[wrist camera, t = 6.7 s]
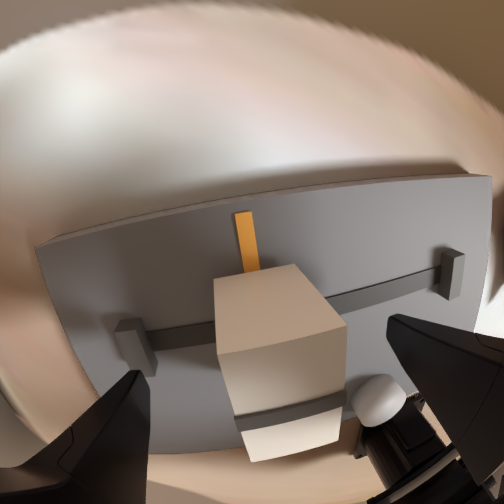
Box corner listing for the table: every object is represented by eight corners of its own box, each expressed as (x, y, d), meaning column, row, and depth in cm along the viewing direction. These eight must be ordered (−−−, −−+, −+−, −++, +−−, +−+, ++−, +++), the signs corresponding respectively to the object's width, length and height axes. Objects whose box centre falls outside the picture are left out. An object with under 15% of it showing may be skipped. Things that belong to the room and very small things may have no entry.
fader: (295, 263, 10) (351, 327, 6) (303, 365, 12) (340, 442, 7) (211, 279, 10) (215, 358, 6) (236, 380, 11) (250, 465, 7)
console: (469, 173, 13) (511, 179, 10) (448, 351, 17) (474, 374, 14) (55, 237, 11) (14, 259, 8) (144, 432, 15) (138, 472, 12)
